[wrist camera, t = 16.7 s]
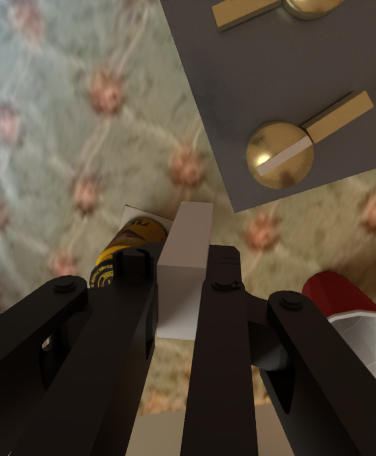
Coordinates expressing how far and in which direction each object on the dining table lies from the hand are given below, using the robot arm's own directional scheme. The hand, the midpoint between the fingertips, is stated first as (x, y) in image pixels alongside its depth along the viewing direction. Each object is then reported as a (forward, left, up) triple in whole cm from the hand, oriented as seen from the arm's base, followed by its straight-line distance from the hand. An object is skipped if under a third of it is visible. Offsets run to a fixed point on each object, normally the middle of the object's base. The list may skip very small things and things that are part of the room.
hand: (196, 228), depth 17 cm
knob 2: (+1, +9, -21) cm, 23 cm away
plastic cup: (+21, +7, -24) cm, 32 cm away
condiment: (+8, -11, -24) cm, 28 cm away
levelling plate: (-4, +13, -24) cm, 27 cm away
